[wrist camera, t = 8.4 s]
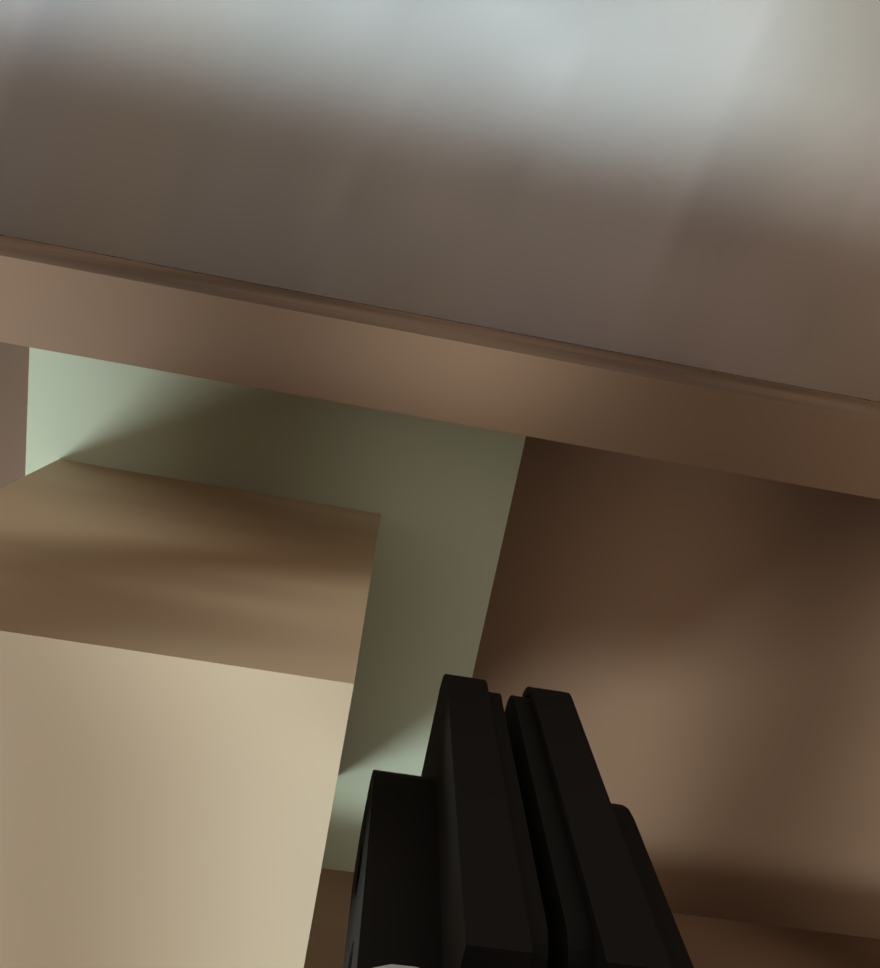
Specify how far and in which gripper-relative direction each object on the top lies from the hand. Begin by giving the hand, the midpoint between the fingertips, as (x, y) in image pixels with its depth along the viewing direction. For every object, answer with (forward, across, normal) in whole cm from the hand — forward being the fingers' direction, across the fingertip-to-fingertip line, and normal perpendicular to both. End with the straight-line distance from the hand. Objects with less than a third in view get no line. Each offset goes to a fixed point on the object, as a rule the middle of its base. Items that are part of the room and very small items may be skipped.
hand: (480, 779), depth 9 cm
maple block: (+3, +4, 0) cm, 5 cm away
